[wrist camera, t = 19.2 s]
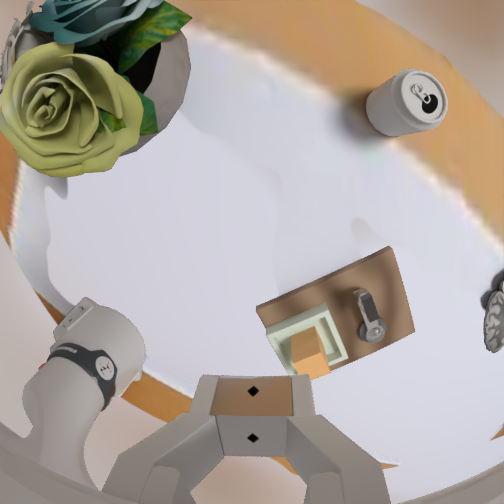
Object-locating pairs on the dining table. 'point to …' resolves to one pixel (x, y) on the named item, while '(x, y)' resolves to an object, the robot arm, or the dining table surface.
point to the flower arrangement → (91, 81)
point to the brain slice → (495, 320)
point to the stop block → (309, 353)
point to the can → (407, 104)
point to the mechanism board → (352, 303)
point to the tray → (302, 321)
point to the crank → (369, 315)
